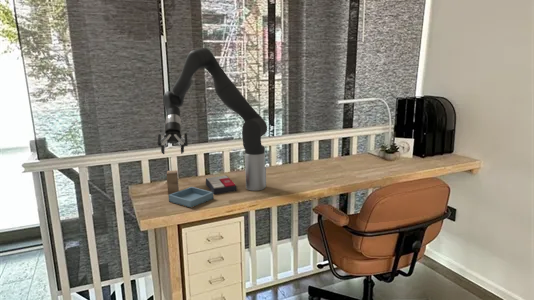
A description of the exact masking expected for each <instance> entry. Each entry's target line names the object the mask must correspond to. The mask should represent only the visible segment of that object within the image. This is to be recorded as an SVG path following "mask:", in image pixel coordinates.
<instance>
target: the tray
mask: <svg viewBox="0 0 534 300" xmlns="http://www.w3.org/2000/svg"><path fill="white" fill-rule="evenodd" d="M167 195H168V194H167ZM213 199H214V194H213V192H212V191H211V190H206V189H202V188H198V187H195V186H190V187H187V188H184V189H181V190H179V191H178V192H175V193H173V194H170V195H168V202H169V203H173V204H176V205H179V204H180V206H182V205H184V206H183V207H185V206H187V207H186V208H188V207H193V206H195V207H197V206H199V205H198V204H200V205H202V204H204V203H206V201H207V202H209V201H212V200H213ZM201 203H202V204H201ZM196 205H197V206H196ZM193 208H194V207H193Z"/></svg>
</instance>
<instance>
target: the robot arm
mask: <svg viewBox="0 0 534 300" xmlns="http://www.w3.org/2000/svg"><path fill="white" fill-rule="evenodd" d="M202 69H203V70H204V69H206V71H207V72H208V73H209V74H210V75H211V78H212V80H213V84H214V91H215V93H216V95H217V96H218V98H219V99H220V100H221V101H222V103H223V104H224V105H225V106H226V107H227V108H229V109H230V110H232V111H233V112H235V114H237V115H238V116H240V118H242V120H243V121H244V123H243V125H242V129H241V131H242V133H241V134H242V135H241V136H242V145H243V146H242V147H243V149H244V160H245V161H244V162H245V163H244V164H245V165H244V170H245V189H246V190H249V191H253V192H254V191H262V190H264V189H266V187H267V168H266V156H265V155H266V151H265V148H266V147H265V146H264V145H262V137H263V136H265V135H266V134H267V133H268V132H267V131H268V125H267V123H266V121H265V119H264V118H263V117H262V116H261V115H260V114H259V113H258V112H257V111H256V110H255V109H254V108H253V107H252V106H251V104H250V103H249V102H248V101H247V99H246V98H245V97H244V96H243V94H242V93H241V91H240V90H239V88H237V86H236V85H235V84H234V82H232V80H231V79H230V77H229V76H228V75H227V73H226V72H225V71H224V70H223V68H222V67H221V65H220V63H219V62H218V60H217V59H216V57H215V55H214V54H213V53H212V51H210V50H209V49H208V48H207V47H201V48H197V49H192V50H190V52H189V53H188V55H187V56H186V59H185V61H184V64H183V67H182V70H181V73H180V74H179V77H178V78H177V80H176V81H175V83H174V85H173V86H172V91H170V90H169V91H165V92H164V94H163V96H162V102H163V106H164V108H165V113H166V114H165V123H164V124H165V128H164V134H163V135H162V134H160V133H158V136H157V143H156V145H157V147H158V148H160V150H161V151H160V152H161V154H162V155H166V154H165V152H166V151H165V150H166V149H165V147H167V146H168V145H169V144H170V145H171V144H178V145H179V146H180V154H183V153H184V152H185V147H188V146H189V145H188V144H189V143H188V141H189V140H188V134H187V133H186V132H185V133H184V134H182V133H181V132H182V131H181V130H182V126H181V125H182V122H181V121H182V120H181V110H180V108H181V107H182V106H183V105H184V101H185V97H186V94H187V93H188V91H189V89H190V88H191V85H192V82H193V81H192V80H193V76H194V75H195V73H196V72H197V71H198V70H202ZM182 139H183V140H184V142H183V141H182ZM162 140H163V141H162Z"/></svg>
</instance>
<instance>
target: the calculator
mask: <svg viewBox="0 0 534 300" xmlns="http://www.w3.org/2000/svg"><path fill="white" fill-rule="evenodd" d="M205 186H206V187H207V188H208V189H209V191H210V192H213V195H218V194H224V193H231V192H237V191H238V190H237V188H238V187H237V184H236V183H235V182H234V181H232V179H231V178H230V177H229V176H228V175H219V176H211V177H207V178H205Z"/></svg>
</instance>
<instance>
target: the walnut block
mask: <svg viewBox="0 0 534 300" xmlns="http://www.w3.org/2000/svg"><path fill="white" fill-rule="evenodd" d="M178 175H179V174H178V170H176V169H175V170H167V172H166V184H167V195H170V194H173V193H175V192H178V191H180V189H179V188H180V187H179V176H178Z"/></svg>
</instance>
